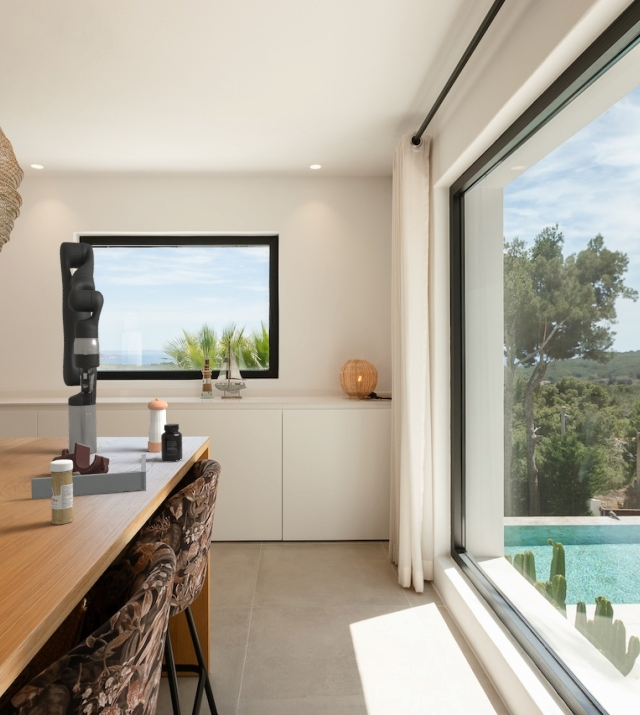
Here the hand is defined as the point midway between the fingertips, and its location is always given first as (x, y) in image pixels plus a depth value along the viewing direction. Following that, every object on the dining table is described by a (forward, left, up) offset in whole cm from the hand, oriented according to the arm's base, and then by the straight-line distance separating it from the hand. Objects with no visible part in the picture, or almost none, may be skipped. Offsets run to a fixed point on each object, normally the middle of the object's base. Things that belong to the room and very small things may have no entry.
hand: (87, 404), depth 183 cm
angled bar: (+26, +4, -20) cm, 33 cm away
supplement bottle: (0, +26, -20) cm, 33 cm away
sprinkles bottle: (+61, 0, -20) cm, 64 cm away
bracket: (+15, 0, -20) cm, 25 cm away
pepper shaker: (-19, +22, -20) cm, 35 cm away
